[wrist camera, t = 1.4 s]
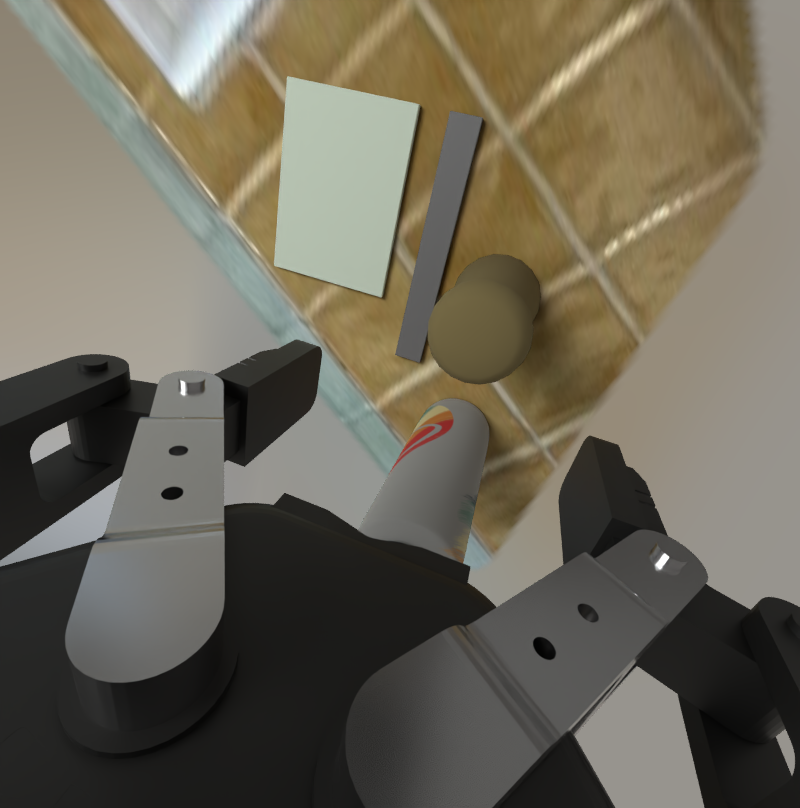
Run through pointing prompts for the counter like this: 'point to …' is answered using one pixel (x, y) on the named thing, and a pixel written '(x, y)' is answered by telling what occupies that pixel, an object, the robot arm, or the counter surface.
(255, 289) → the counter surface
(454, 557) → the lotion bottle
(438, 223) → the charcoal line
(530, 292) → the cork
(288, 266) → the mat
